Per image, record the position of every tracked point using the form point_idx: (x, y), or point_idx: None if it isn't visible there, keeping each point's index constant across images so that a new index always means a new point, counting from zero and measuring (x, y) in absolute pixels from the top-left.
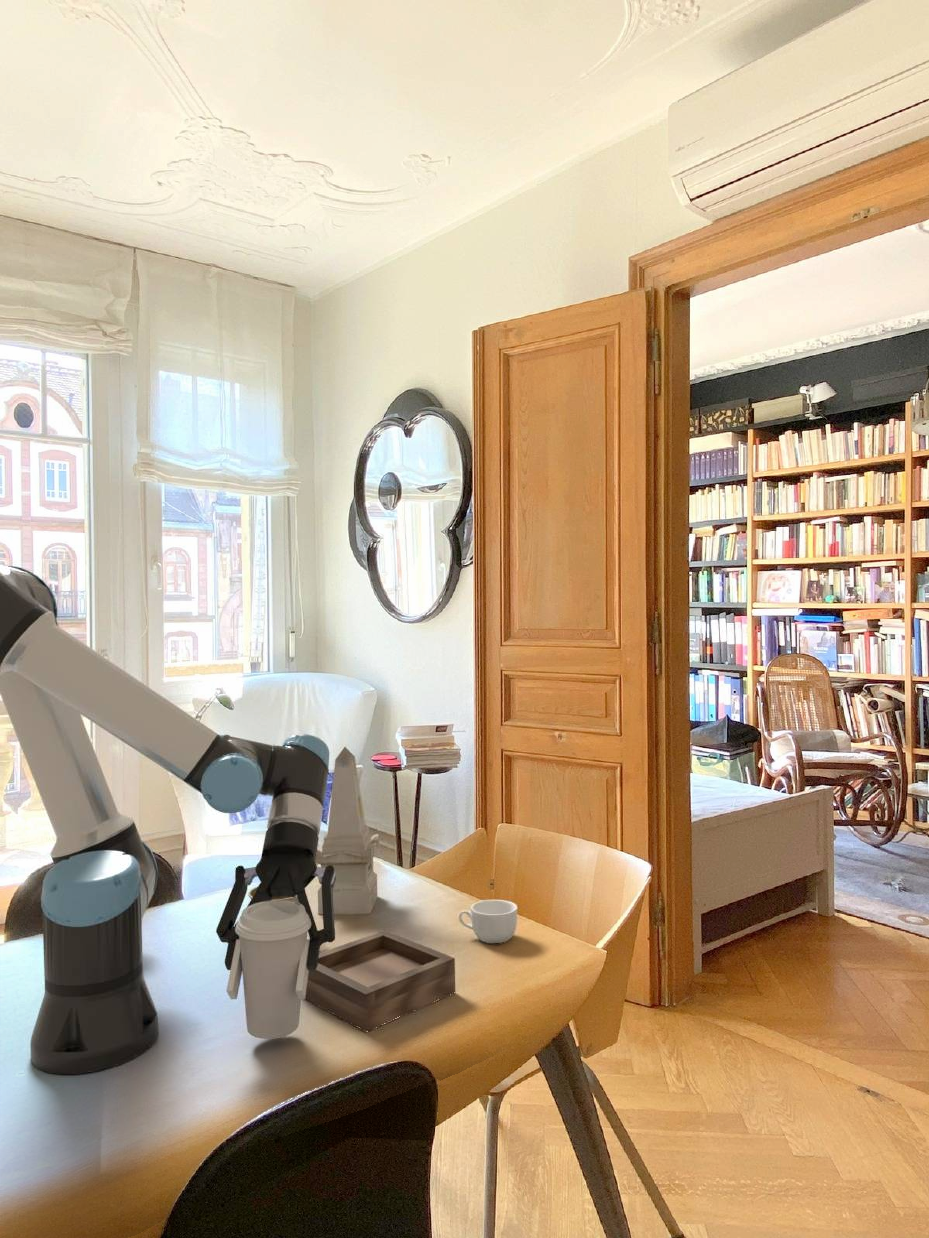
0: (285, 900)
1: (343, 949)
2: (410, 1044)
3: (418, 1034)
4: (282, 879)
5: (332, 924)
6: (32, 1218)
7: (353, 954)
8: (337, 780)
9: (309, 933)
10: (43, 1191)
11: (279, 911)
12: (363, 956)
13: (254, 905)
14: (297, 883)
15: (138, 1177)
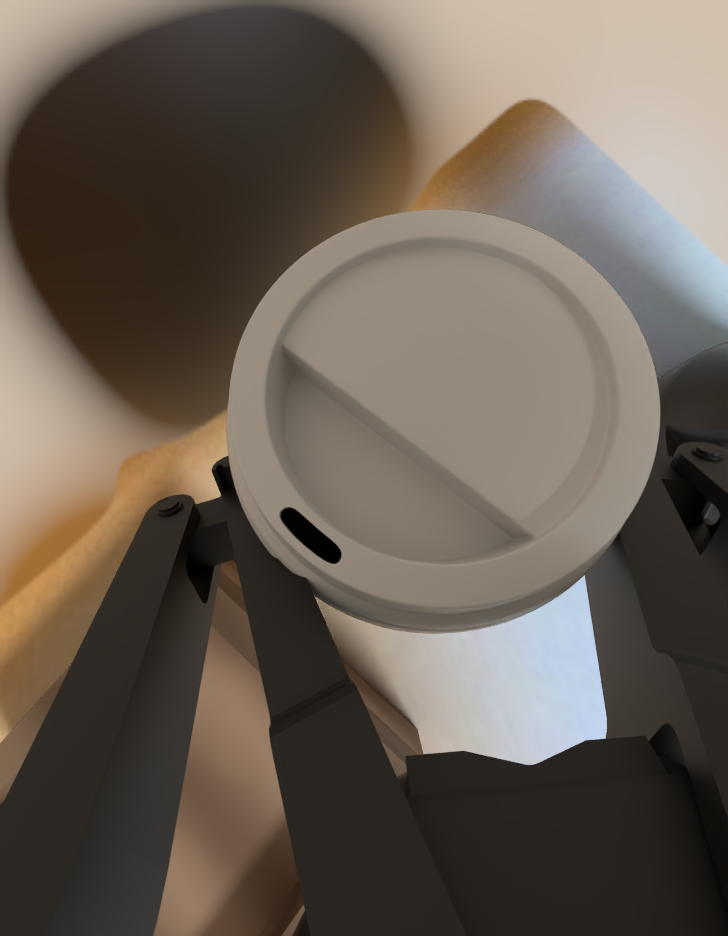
0: (427, 602)
1: (299, 910)
2: (129, 505)
3: (114, 545)
4: (602, 933)
5: (139, 530)
6: (524, 103)
7: (277, 918)
8: None
9: None
10: (544, 136)
11: (402, 413)
12: (253, 932)
13: (620, 458)
14: (351, 802)
15: (445, 165)
